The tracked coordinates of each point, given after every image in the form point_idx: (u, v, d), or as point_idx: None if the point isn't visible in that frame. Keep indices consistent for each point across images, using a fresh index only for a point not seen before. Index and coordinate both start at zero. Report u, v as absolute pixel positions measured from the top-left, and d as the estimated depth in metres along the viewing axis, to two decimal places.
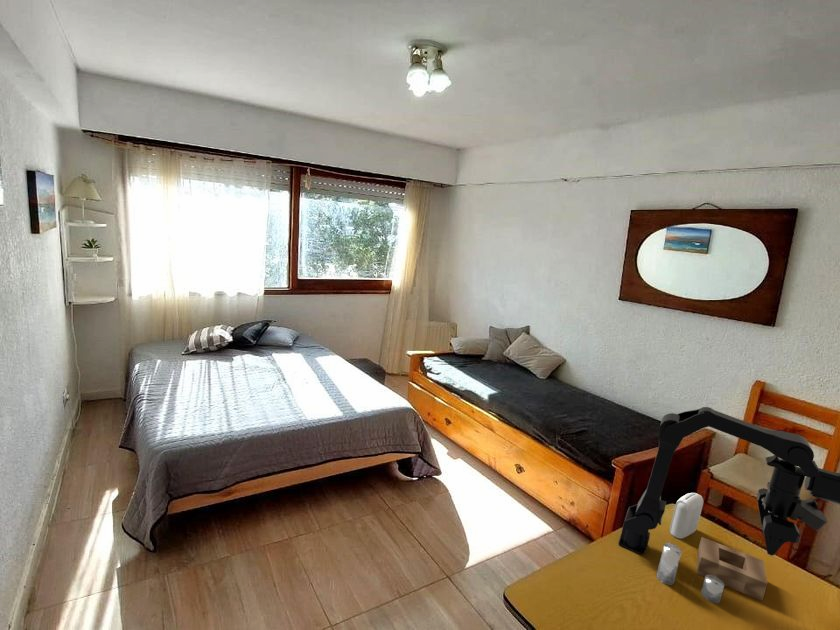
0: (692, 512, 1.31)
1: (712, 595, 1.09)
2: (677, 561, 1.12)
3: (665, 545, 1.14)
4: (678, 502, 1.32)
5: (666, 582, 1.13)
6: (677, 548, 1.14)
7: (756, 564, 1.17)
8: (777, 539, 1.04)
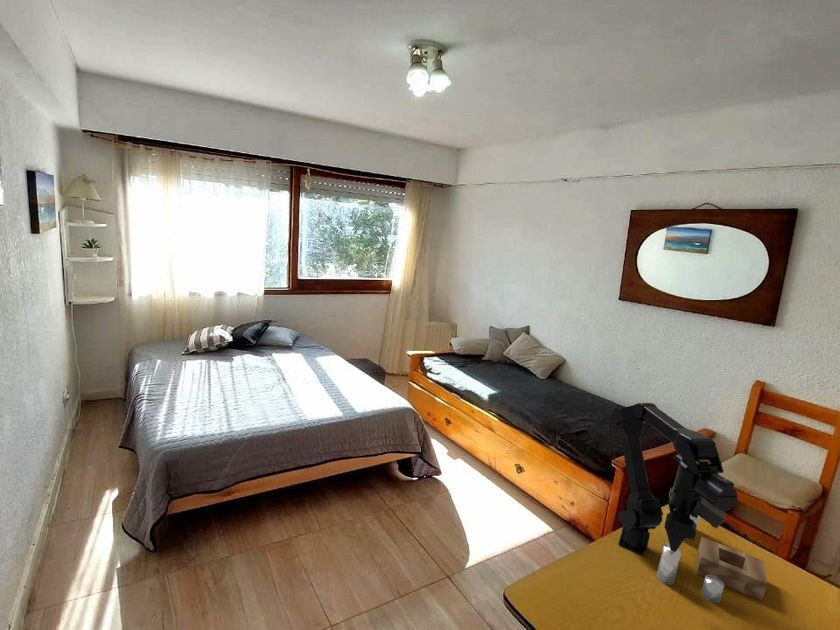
0: None
1: (712, 595, 1.09)
2: (677, 561, 1.12)
3: (665, 545, 1.14)
4: None
5: (666, 582, 1.13)
6: None
7: (756, 564, 1.17)
8: (678, 536, 1.07)
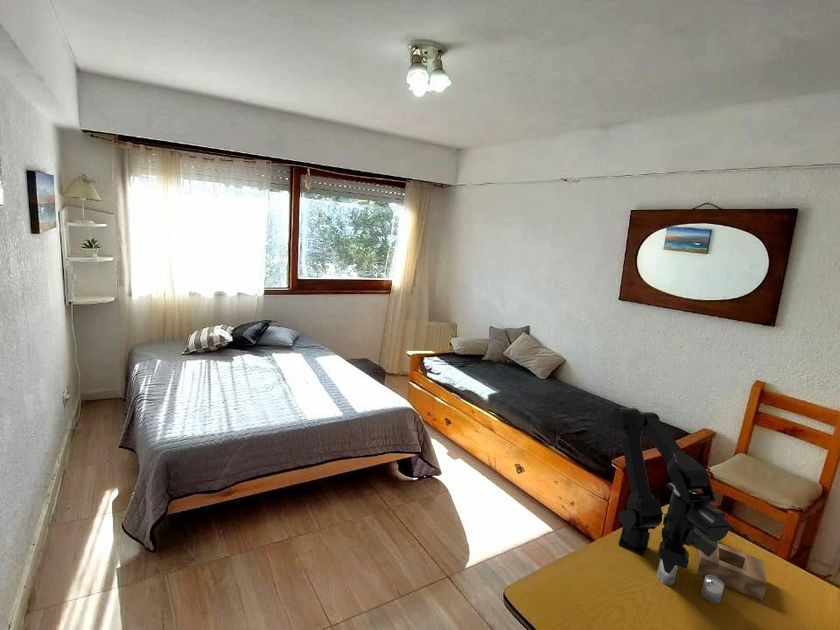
0: None
1: (713, 595, 1.09)
2: None
3: None
4: None
5: (666, 582, 1.13)
6: None
7: (756, 564, 1.17)
8: None
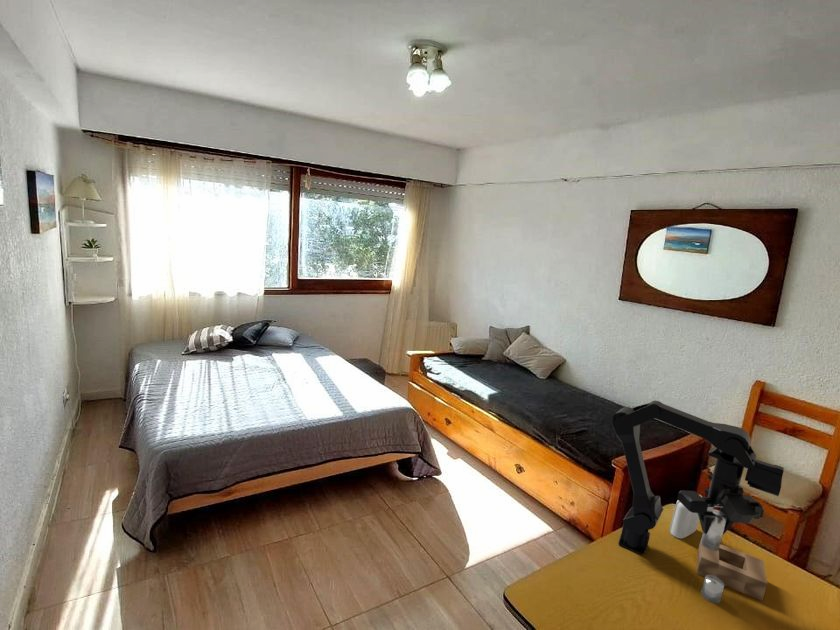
0: None
1: (712, 595, 1.09)
2: (715, 525, 1.12)
3: (713, 509, 1.15)
4: (678, 502, 1.32)
5: (703, 543, 1.14)
6: (724, 516, 1.12)
7: (756, 564, 1.17)
8: (704, 515, 1.13)
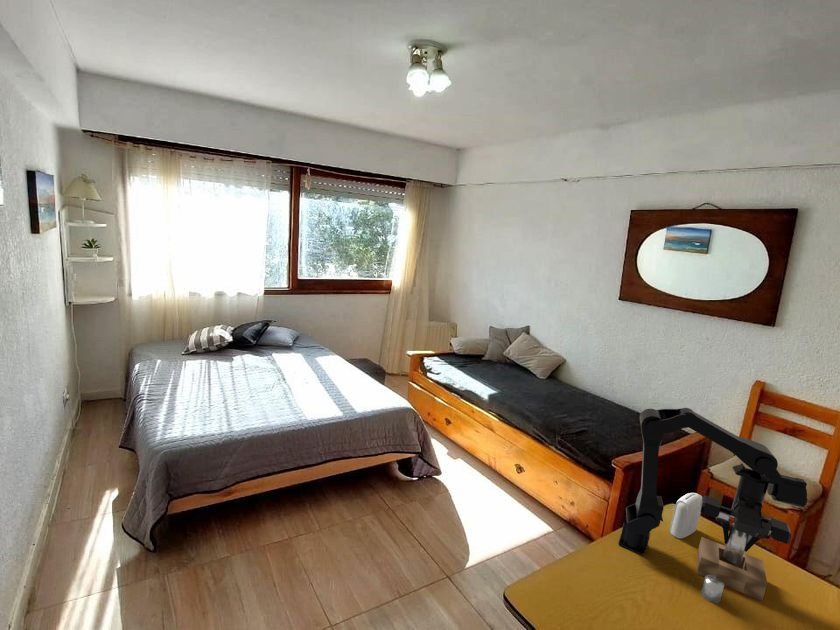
0: (692, 512, 1.31)
1: (712, 595, 1.09)
2: (733, 536, 1.16)
3: None
4: (678, 502, 1.32)
5: (723, 553, 1.19)
6: None
7: (756, 564, 1.17)
8: None
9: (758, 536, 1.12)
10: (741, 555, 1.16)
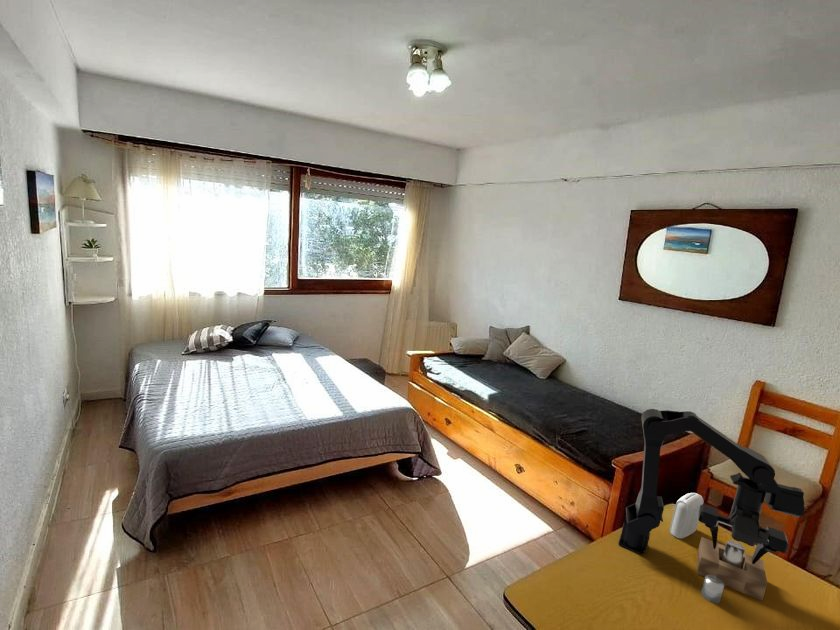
0: (692, 512, 1.31)
1: (712, 595, 1.09)
2: (728, 554, 1.17)
3: (735, 542, 1.19)
4: (678, 502, 1.32)
5: None
6: (740, 549, 1.16)
7: (756, 564, 1.17)
8: None
9: (766, 549, 1.12)
10: None
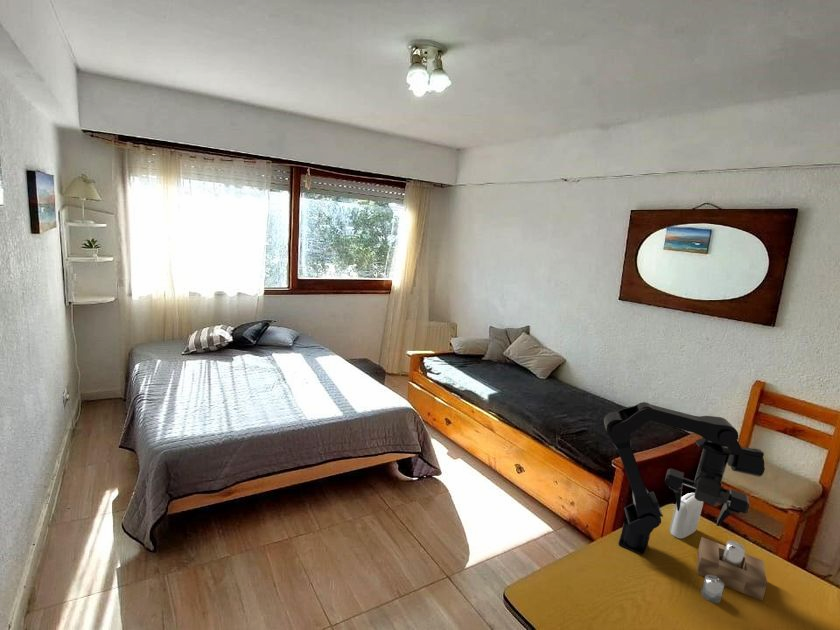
0: (692, 512, 1.31)
1: (712, 595, 1.09)
2: (728, 554, 1.17)
3: (735, 542, 1.18)
4: None
5: None
6: (740, 549, 1.16)
7: (756, 564, 1.17)
8: None
9: (729, 510, 1.15)
10: None
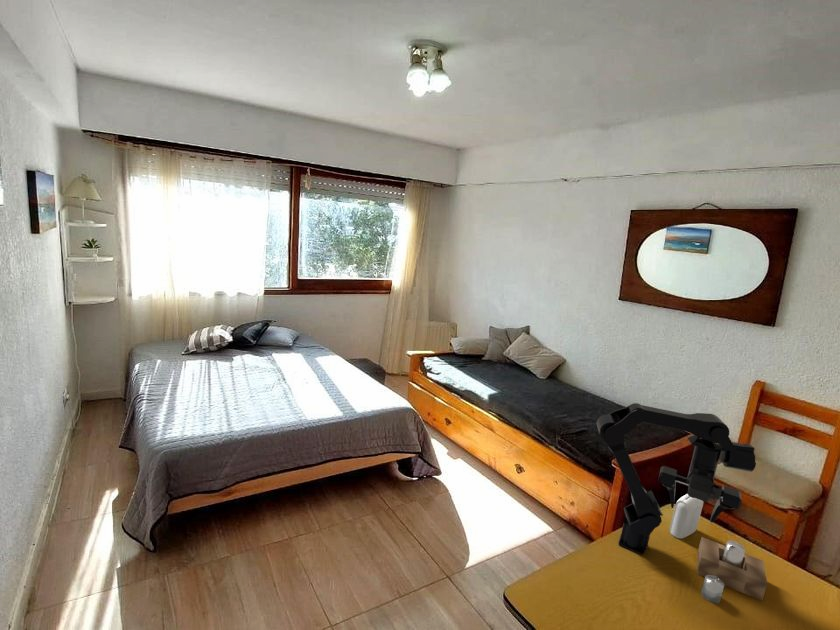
0: (692, 512, 1.31)
1: (712, 595, 1.09)
2: (728, 554, 1.17)
3: (735, 542, 1.18)
4: (678, 502, 1.32)
5: None
6: (740, 550, 1.16)
7: (756, 564, 1.17)
8: None
9: (722, 506, 1.16)
10: None
